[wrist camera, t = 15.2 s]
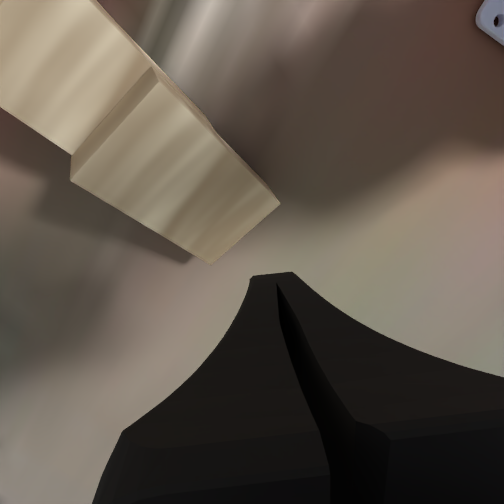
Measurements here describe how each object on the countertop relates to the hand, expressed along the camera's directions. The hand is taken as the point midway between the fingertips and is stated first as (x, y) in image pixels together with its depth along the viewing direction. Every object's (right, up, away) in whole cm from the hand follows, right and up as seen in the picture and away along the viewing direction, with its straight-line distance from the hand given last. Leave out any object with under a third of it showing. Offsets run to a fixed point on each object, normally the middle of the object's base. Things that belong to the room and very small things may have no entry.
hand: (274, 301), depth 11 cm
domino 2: (-1, +3, +8) cm, 9 cm away
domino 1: (-5, +6, +6) cm, 10 cm away
